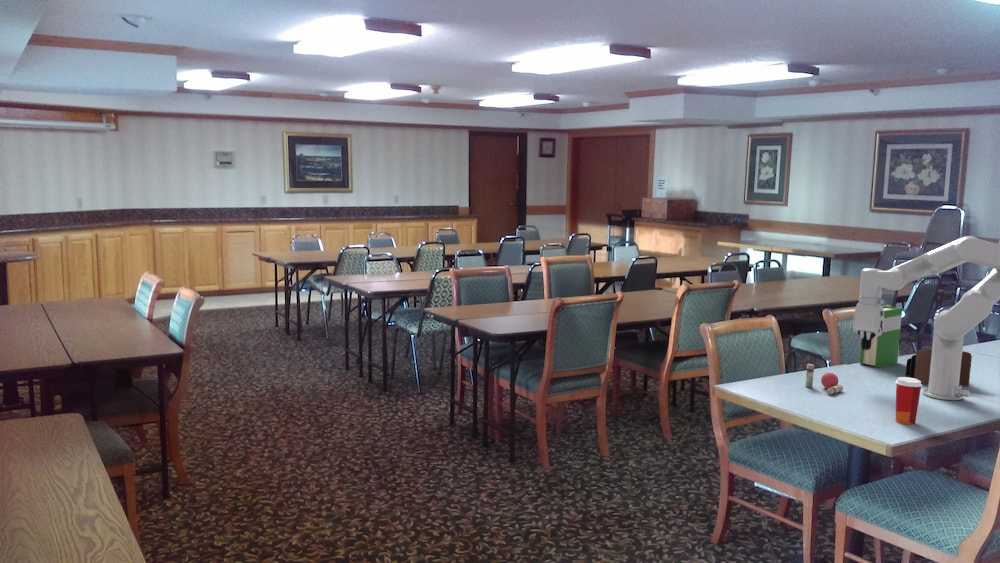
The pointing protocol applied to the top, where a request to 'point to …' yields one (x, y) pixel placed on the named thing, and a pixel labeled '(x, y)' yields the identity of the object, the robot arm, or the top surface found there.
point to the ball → (829, 380)
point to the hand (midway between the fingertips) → (865, 349)
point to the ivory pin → (834, 389)
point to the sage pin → (809, 375)
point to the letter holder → (921, 367)
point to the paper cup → (907, 399)
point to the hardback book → (885, 341)
